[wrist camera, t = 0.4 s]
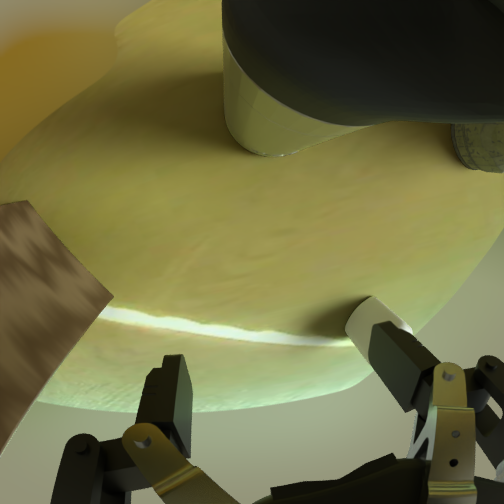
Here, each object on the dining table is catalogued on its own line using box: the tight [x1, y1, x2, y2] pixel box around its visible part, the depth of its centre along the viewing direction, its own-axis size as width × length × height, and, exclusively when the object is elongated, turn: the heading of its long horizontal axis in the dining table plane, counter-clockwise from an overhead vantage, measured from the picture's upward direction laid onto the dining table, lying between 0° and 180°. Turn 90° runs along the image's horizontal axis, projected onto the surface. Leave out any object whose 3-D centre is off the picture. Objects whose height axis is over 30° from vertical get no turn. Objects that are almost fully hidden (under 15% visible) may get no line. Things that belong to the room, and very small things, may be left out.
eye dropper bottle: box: [345, 296, 413, 364], centre depth 26 cm, size 4×6×12 cm
